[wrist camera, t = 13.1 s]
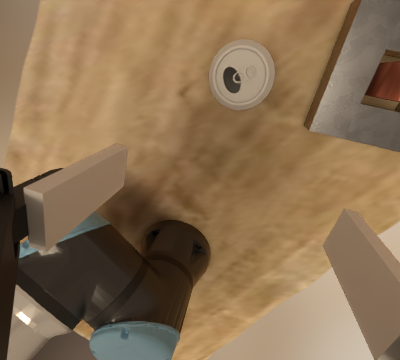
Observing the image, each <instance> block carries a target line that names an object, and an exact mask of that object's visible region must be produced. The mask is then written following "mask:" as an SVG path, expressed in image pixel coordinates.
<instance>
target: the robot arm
mask: <svg viewBox="0 0 400 360" xmlns="http://www.w3.org/2000/svg"><path fill="white" fill-rule="evenodd" d="M127 152H128V147H127V146H123V145H120V144H114V145H112V146H110V147H108V148H106V149H104V150H102V151H99V152H97V153H95V154H93V155H91V156H89V157H87V158H85V159H83V160H81V161H79V162H76V163H74V164H72V165H70V166H68V167H66V168H59V169H55V170H50V171H48V172H46V173H44V174H42V175H39V176H37V177H35V178H34V179H30V180H28V181H26V182H24V183H22V184H19V185H17V186H15V187H13V182H12V174H11V172H10V171H9V170H7V169H3V168H0V360H30V359H32V357H33V356H34V355H35V354H36V353H37V352H38V351H39V350H40V349H41V347H42V346H43V345H44V344H45V343H46V342H47V341H48V340H49V339H50V338H51V337H53V336H55V335H60V334H65V333H70V332H71V331H72V330H73V329H74V328H75V327H76V325H77V324H78V323H79V322H80V321H81V320H82V319H83V320H84V321H85V322H86V323H88V324H89V325H90V326H91V327H92V328H93V329H94V332H93V333H92V334H91V339H90V343H89V347H90V349H91V350H92V354H93V355H94V356H95V357H96V358H97V359H98V360H171V358H172V356H173V353H174V350H175V348H176V345H177V342H178V341H179V339H180V332H181V329H182V325H183V321H184V318H185V314H186V311H187V307H188V303H189V300H190V296H191V293H192V289H193V287H194V285H195V284H196V283H197V282H198V280H199V279H200V278H201V277H202V275H203V274H204V273H205V271H206V269H207V267H208V264H209V260H210V248H209V245H208V242H207V240H206V239H205V237H204V236H203V235H202V234H201V233H200V232H199V231H198V230H197V229H195V228H194V227H192V226H191V225H188V224H186V223H183V222H180V221H173V220H169V221H162V222H159V223H157V224H155V225H154V226H152V227H151V228H150V229H149V231H148V232H147V234H146V235H145V237H144V238H143V241H142V244H141V250H140V253H139V252H138V251H137V250H136V249H135V248H134V247H133V246H132V245H131V244H130V243H129V242H128V241H127V240H126V239H125V238H124V237H123V236H122V235H121V234H120V233H119V232H118V231H117V230H116V229H115V228H114V227H113V226H112V225H111V222H110V221H107V220H106V219H105V218H103V217H102V216H101V215H100V214H99V213H98V212H97V211H96V210H97V209H98V208H99V207H100V206H101V205H102V204H104V203H105V202H106V201H107V200H108V199H109V198H111V197H112V196H113V195H114V194H115V193H117V192H118V191H119V190H120V189H121V188H122V187H124V181H125V171H126V161H127ZM26 236H28V240H26V241H25V242H23V243H22V244H20V240H22V239H23V238H25V237H26ZM323 247H324V250H325V252H326V254H327V256H328V258H329V261H330V263H331V265H332V267H333V269H334V272H335V274H336V276H337V278H338V280H339V283H340V285H341V287H342V289H343V291H344V294H345V296H346V298H347V300H348V302H349V305H350V307H351V309H352V311H353V313H354V316H355V318H356V320H357V322H358V324H359V327H360V329H361V331H362V333H363V335H364V338H365V340H366V342H367V344H368V346H369V349H370V351H371V353H372V355H373V357H374V360H400V263H399V261H398V260H397V259H396V258H395V257H394V256H393V254H392V253H391V252H390V251H389V249H388V248H387V247H386V246H385V245H384V243H383V242H382V241H381V240H380V239H379V237H378V236H377V235H376V234H375V233H374V231H373V230H372V229H371V228H370V227H369V225H368V224H367V223H366V222H365V221H364V219H363V218H362V217H361V216H360V215H359V213H358V212H354V211H351V210H347V209H343V211H342V213H341V215H340V217H339V218H338V220H337V222H336V224H335V225H334V227H333V229H332V231H331V232H330V234H329V236H328V238H327V239H326V241H325V243H324V245H323Z"/></svg>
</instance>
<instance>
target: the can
mask: <svg viewBox="0 0 400 360" xmlns="http://www.w3.org/2000/svg"><path fill="white" fill-rule="evenodd" d="M274 76H275V69H274V62H273V60H272V58H271V55H270V53H269V52H268V51H267V50H266V49H265V48H264V47H263V46H262V44H259V43H257V42H255V41H253V40H247V39H239V40H236V41H233V42H230V43H228V44H227V45H225V46H224V47H222V48H221V49H220V50H219V52H218V53H217V54H216V56H215V57H214V58H213V61H212V64H211V66H210V70H209V83H210V88H211V91H212V93H213V95H214V96H215V98H216V99H217V100H218V101H219V102H220V103H221V104H222V105H223V106H225V107H228V108H230V109H233V110H245V109H250V108H252V107H254V106H256V105H258V104H259V103H261V102H262V101H263V100H264V98H265V97H266V96H267V95H268V94H269V92H270V90H271V88H272V86H273V82H274Z"/></svg>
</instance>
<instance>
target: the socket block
mask: <svg viewBox="0 0 400 360" xmlns="http://www.w3.org/2000/svg"><path fill="white" fill-rule="evenodd" d="M383 55H387V56H392V57H398V58H400V0H355V1H354V2H352V3H351V6H350V8H349V11H348V13H347V16H346V19H345V21H344V24H343V26H342V29H341V31H340V34H339V36H338V39H337V42H336V44H335V47H334V49H333V52H332V54H331V57H330V60H329V62H328V65H327V67H326V70H325V72H324V75H323V78H322V80H321V83H320V85H319V88H318V90H317V93H316V96H315V98H314V101H313V103H312V106H311V108H310V111H309V113H308V116H307V119H306V121H305V124H304V126H305V127H306V128H307V129H308V130H309V131H313V132H318V133H322V134H326V135H330V136H334V137H339V138H343V139H347V140H351V141H355V142H360V143H364V144H368V145H372V146H377V147H381V148H385V149H389V150H393V151H398V152H400V102H399V104H398V106H397V108H396V110H395V111H393V110H388V109H384V108H379V107H375V106H370V105H366V104H361V101H362V99H363V97H364V95H365V93H366V91H367V88H368V86H369V84H370V82H371V80H372V78H373V76H374V74H375V72H376V69H377V67H378V65H379V63H380V61H381V59H382V57H383Z"/></svg>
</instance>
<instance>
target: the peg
mask: <svg viewBox="0 0 400 360" xmlns="http://www.w3.org/2000/svg"><path fill="white" fill-rule="evenodd" d="M365 95H368V96H373V97H377V98H382V99H387V100H391V101H397V102H400V61H397V62H386V63H379V65H378V67H377V69H376V72H375V74H374V76H373V78H372V80H371V82H370V84H369V86H368V88H367V91H366V93H365Z"/></svg>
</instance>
